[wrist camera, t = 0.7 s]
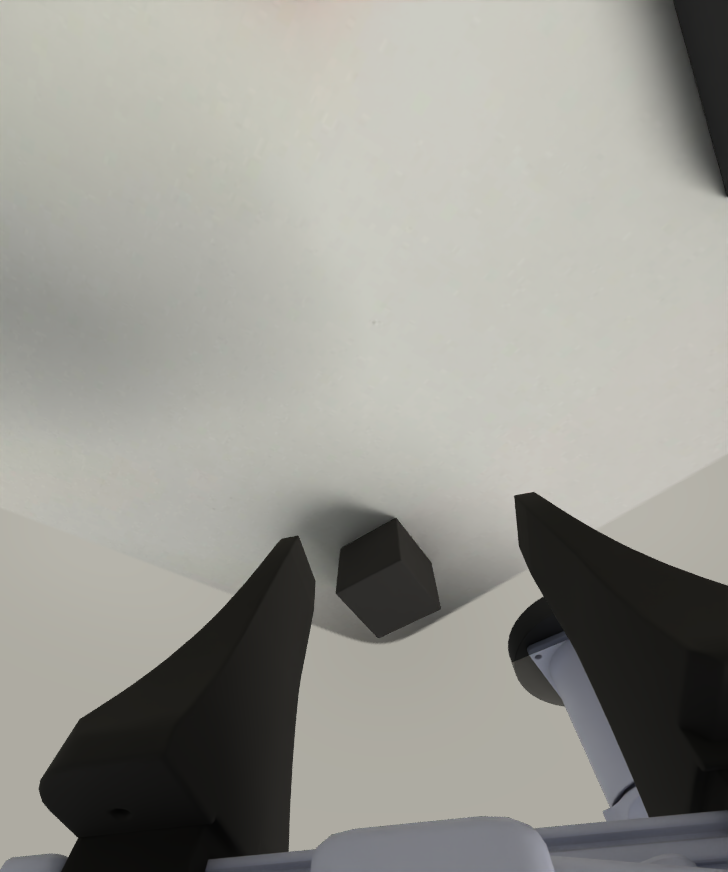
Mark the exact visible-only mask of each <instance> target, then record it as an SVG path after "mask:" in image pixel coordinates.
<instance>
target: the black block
mask: <svg viewBox="0 0 728 872" xmlns="http://www.w3.org/2000/svg"><path fill="white" fill-rule="evenodd" d="M336 594H337V595H338V596H339V597H340V598H341V599H342V601H343V602H344V603H345V604H346V605H347V606H348V607H349V608H350V609H351V610H352V611H353V612H354V613H355V614H356V615H357V616H358V618H359V619H360V620H361V621H362V622H363V623H364V624H365V625H366V626H367V627H368V628H369V629H370V630H371V631H372V632H373V633H374V634H375V636H376V637H377V638H381V637H383V636H385V635H387V634H389V633H391V632H393V631H395V630H398V629H400V628H402V627H404V626H406V625H408V624H410V623H412V622H415V621H417V620H419V619H421V618H423V617H425V616H427V615H429V614H432V613H434V612H436V611H438V610H440V609H441V606H440V602H439V597H438V592H437V587H436V583H435V578H434V573H433V568H432V563H431V562H430V560H429V559H428V558H427V557H426V555H425V554H424V553H423V551H422V550H421V549H420V548H419V546H418V545H417V544H416V542H415V541H414V540H413V539H412V537H411V536H410V535H409V534H408V532H407V531H406V530H405V528H404V527H403V526H402V525H401V523H400V522H399V521H398V519H396V518H395V519H393V520H391V521H390V522H388V523H386V524H384V525H382V526H381V527H379V528H377V529H375V530H373V531H372V532H370V533H368V534H366V535H364V536H362V537H361V538H359V539H357V540H355V541H353V542H352V543H350V544H348V545H346V546H344V547H343V548H341V549H340V558H339V567H338V577H337V586H336Z"/></svg>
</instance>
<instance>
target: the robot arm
mask: <svg viewBox="0 0 728 872" xmlns="http://www.w3.org/2000/svg"><path fill="white" fill-rule="evenodd" d="M514 498H515V509H516V519H517V530H518V541H519V547H520V550H521V552H522V555H523V557H524V559H525V562H526V564H527V566H528V568H529V571H530V573H531V575H532V577H533V578H534V580H535V582H536V584H537V585H538V587H539V589H540V591H541V592H542V594H543V596H544V598H545V599H546V601H547V603H548V604H549V606H550V608H551V609H552V611H553V613H554V615H555V616H556V618H557V620H558V621H559V623H560V625H561V626H562V628H563V630H564V631H563V632H560V633H558V634H556V635H553V636H551V637H548V638H546V639H544V640H541V641H539V642H536V643H534V644H532V645H530V646H528V648H527V651H528V654H529V656H530V657H531V658H532V660H533V661H534V662H535V664H536V665H537V666H538V668H539V669H540V671H541V672H542V673H543V675H544V676H545V677H546V679H547V680H548V681H549V683H550V684H551V685H552V687H553V688H554V689H555V691H556V692H557V693H558V695H559V696H560V697H561V699H562V701H563V703H564V705H565V708H566V710H567V712H568V714H569V717H570V719H571V721H572V723H573V726H574V728H575V730H576V732H577V734H578V737H579V739H580V741H581V743H582V746H583V748H584V750H585V752H586V754H587V757H588V759H589V761H590V764H591V766H592V768H593V770H594V773H595V775H596V777H597V779H598V782H599V784H600V786H601V788H602V790H603V793H604V795H605V797H606V799H607V801H608V804H609V806H610V808H609V809H607V810H604V811H603V814H604V816H605V819H606V821H607V822H597V823H586V824H576V825H565V826H555V827H544V828H532V827H531V826H530V825H528V824H525V823H522V822H520V821H517V820H514V819H512V818H509V817H488V816H487V817H486V816H479V817H468V818H458V819H448V820H439V821H428V822H418V823H408V824H399V825H389V826H379V827H369V828H358V829H352V830H348V831H344V832H341V833H336V834H332V835H331V836H329V837H328V838H327V839H326V840H325V841H323V842H322V843H321V844H320V845H319V846H318V847H317V848H316V849H314V850H304V851H293V852H288V851H289V850H288V849H289V820H290V798H291V780H292V762H293V750H294V737H295V724H296V714H297V703H298V693H299V687H300V680H301V674H302V669H303V664H304V659H305V654H306V649H307V643H308V638H309V633H310V628H311V622H312V617H313V611H314V599H315V579H314V576H313V573H312V571H311V568H310V565H309V562H308V560H307V557H306V554H305V552H304V549H303V546H302V544H301V541H300V538H299V536H294V537H288V538H283V539H281V540H280V541H279V542H278V543H277V545H276V546H275V547H274V548H273V549H272V551H271V552H270V553H269V554H268V556H267V557H266V558H265V559H264V561H263V562H262V563H261V564H260V566H259V567H258V568H257V569H256V571H255V572H254V573H253V574H252V575H251V577H250V578H249V579H248V580H247V582H246V583H245V584H244V585H243V586H242V587H241V588H240V589H239V591H238V592H237V593H236V594H235V595H234V596H233V597H232V598H231V600H230V601H229V602H228V603H227V604H226V605H225V606H224V607H223V608H222V609H221V610H220V611H219V612H218V614H216V616H215V617H213V618H212V620H210V621H209V622H208V623H207V624H206V625H205V626H204V627H203V628H202V629H201V630H200V631H199V632H198V633H197V634H196V635H194V637H192V638H191V639H190V640H189V641H187V642H186V643H185V644H184V645H183V646H182V647H180V648H179V649H178V650H177V651H176V652H174V653H173V654H172V655H171V656H170V657H169V658H167V659H166V660H165V661H164V662H162V663H161V664H160V665H158V666H157V667H156V668H155V669H153V670H152V671H151V672H149V673H148V674H146V675H145V676H144V677H143V678H141V679H140V680H138V681H137V682H136V683H134V684H133V685H131V686H130V687H128V688H127V689H126V690H124V691H123V692H121V693H120V694H118V695H117V696H115V697H114V698H112V699H110V700H109V701H107V702H106V703H104V704H103V705H101V706H100V707H98V708H97V709H95V710H94V711H92V712H90V713H89V714H87V715H86V716H84V717H82V718H81V719H80V720H79V721H78V723H77V724H76V726H75V727H74V729H73V730H72V732H71V733H70V735H69V737H68V738H67V740H66V741H65V743H64V744H63V746H62V747H61V749H60V751H59V752H58V754H57V755H56V757H55V758H54V760H53V762H52V763H51V764H50V766H49V768H48V769H47V771H46V772H45V774H44V775H43V777H42V778H41V780H40V785H39V792H40V796H41V799H42V802H43V803H44V804H45V806H47V808H48V809H49V810H50V811H51V812H52V813H53V814H54V815H55V816H56V817H57V818H58V819H59V820H60V821H61V822H62V823H63V824H64V825H65V826H66V827H67V828H68V829H69V830H71V831H72V832H73V833H74V834H75V835H76V836H77V837H78V840H77V841H76V844H75V845H74V847H73V849H72V851H71V853H70V855H69V857H66V856H64V855H59V854H42V855H32V856H23V857H13V858H10V859H8V860H7V861H6V862H5V863H4V865H3V866H2V868H1V870H0V872H728V586H727V585H724V584H721V583H718V582H715V581H712V580H709V579H706V578H703V577H700V576H697V575H695V574H692V573H689V572H687V571H684V570H681V569H678V568H676V567H673V566H671V565H668V564H665V563H663V562H660V561H658V560H656V559H654V558H651V557H649V556H647V555H645V554H642V553H640V552H638V551H635V550H633V549H631V548H629V547H627V546H625V545H623V544H621V543H619V542H617V541H615V540H613V539H611V538H609V537H607V536H606V535H604V534H602V533H600V532H598V531H596V530H595V529H593V528H591V527H589V526H587V525H586V524H584V523H582V522H581V521H579V520H577V519H576V518H574V517H572V516H571V515H569V514H567V513H566V512H564V511H563V510H561V509H560V508H558V507H556V506H555V505H553V504H552V503H550V502H549V501H547V500H546V499H544V498H543V497H541V496H539V495H538V494H536V493H535V492H531V493H526V494H520V495H515V496H514Z"/></svg>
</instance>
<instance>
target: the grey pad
mask: <svg viewBox="0 0 728 872" xmlns="http://www.w3.org/2000/svg"><path fill="white" fill-rule="evenodd" d="M674 4H675V7H676V11H677V15H678V18H679V22H680V25H681V29H682V33H683V36H684V40H685V44H686V47H687V51H688V55H689V58H690V62H691V65H692V69H693V73H694V76H695V80H696V84H697V87H698V91H699V95H700V98H701V102H702V105H703V109H704V113H705V116H706V120H707V124H708V127H709V131H710V135H711V138H712V142H713V145H714V149H715V153H716V156H717V160H718V164H719V167H720V171H721V175H722V178H723V182H724V185H725V189H726V193H727V196H728V0H674Z"/></svg>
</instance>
